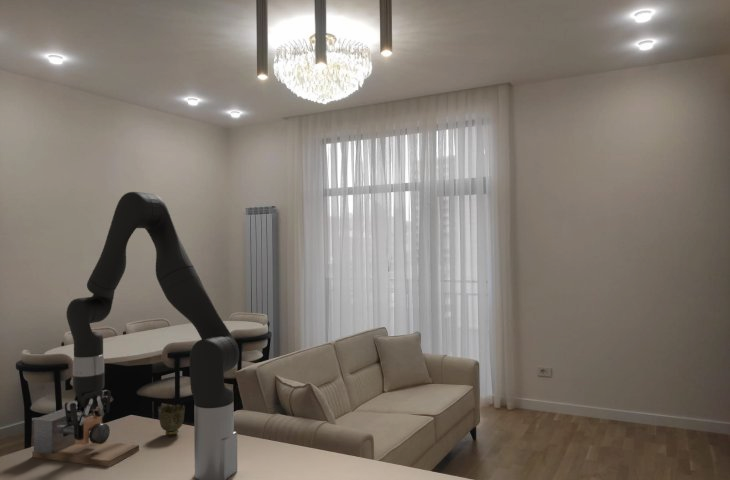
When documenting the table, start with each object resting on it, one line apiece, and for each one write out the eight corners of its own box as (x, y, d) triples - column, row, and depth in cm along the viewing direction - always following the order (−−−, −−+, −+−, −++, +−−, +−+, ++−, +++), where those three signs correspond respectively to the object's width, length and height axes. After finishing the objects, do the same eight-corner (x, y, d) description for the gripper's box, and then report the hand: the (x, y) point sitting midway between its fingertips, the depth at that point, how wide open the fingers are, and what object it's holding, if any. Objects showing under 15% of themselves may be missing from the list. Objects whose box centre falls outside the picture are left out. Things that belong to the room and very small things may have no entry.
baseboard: (139, 450, 146) (139, 445, 146) (109, 466, 135) (109, 460, 135) (65, 442, 153) (65, 437, 153) (32, 457, 142) (32, 451, 142)
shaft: (109, 440, 144) (109, 421, 144) (95, 446, 140) (95, 427, 140) (73, 436, 148) (73, 417, 148) (58, 442, 143) (58, 423, 143)
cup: (176, 440, 154) (176, 412, 154) (153, 438, 155) (153, 410, 155) (189, 431, 161) (189, 404, 161) (167, 429, 163) (167, 403, 163)
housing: (81, 440, 150) (81, 409, 150) (52, 453, 140) (52, 421, 140) (64, 438, 152) (64, 408, 152) (33, 451, 142) (33, 419, 142)
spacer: (101, 437, 146) (101, 416, 146) (84, 445, 140) (84, 423, 140) (92, 436, 146) (92, 415, 147) (75, 443, 141) (75, 422, 141)
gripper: (79, 379, 135) (79, 446, 135) (119, 366, 149) (119, 427, 149) (55, 377, 138) (55, 443, 137) (97, 365, 151) (97, 425, 151)
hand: (88, 434), depth 143 cm, fingers closed on spacer, 6 cm apart
